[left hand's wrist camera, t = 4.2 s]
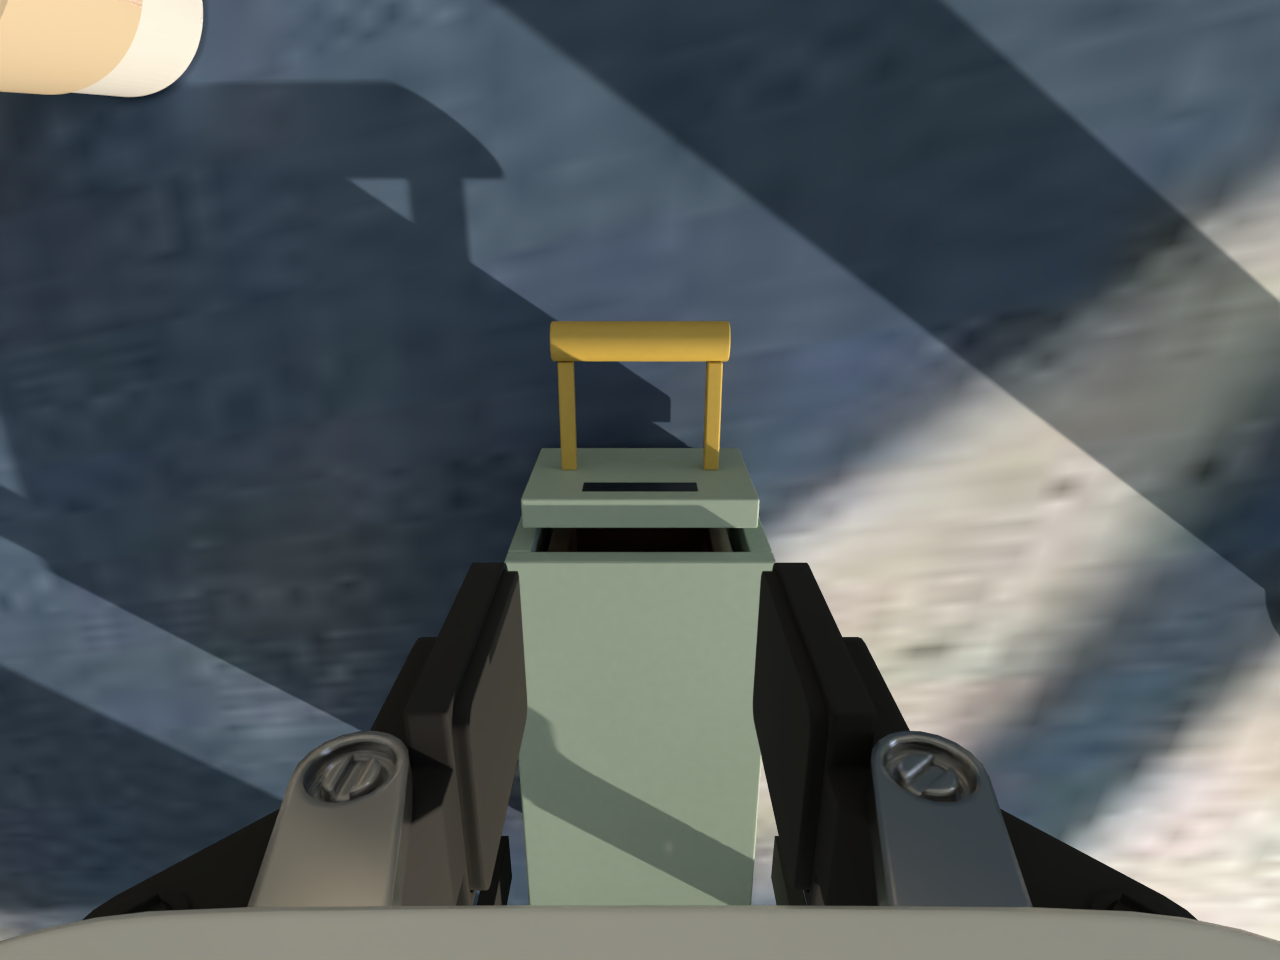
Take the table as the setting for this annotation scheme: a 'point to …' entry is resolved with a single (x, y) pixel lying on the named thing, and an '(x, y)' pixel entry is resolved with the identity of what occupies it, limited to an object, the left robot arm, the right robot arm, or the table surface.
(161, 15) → the coffee cup
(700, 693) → the cabinet
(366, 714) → the table surface
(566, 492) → the drawer
